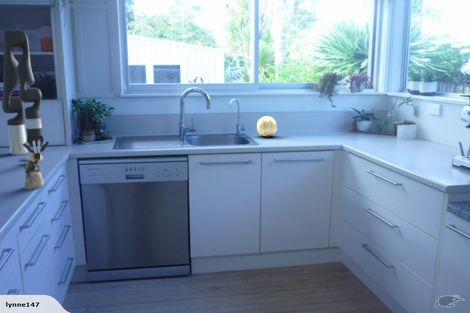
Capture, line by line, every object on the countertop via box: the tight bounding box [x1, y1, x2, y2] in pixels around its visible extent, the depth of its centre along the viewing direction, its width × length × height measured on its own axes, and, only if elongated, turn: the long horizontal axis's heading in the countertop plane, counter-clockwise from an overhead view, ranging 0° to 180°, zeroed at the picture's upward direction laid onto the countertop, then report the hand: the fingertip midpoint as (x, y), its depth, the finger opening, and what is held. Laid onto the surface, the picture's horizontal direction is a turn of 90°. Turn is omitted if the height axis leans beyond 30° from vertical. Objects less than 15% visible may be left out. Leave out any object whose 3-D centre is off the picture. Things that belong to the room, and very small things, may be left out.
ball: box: [29, 153, 43, 163], centre depth 226 cm, size 6×6×6 cm
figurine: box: [23, 159, 44, 190], centre depth 178 cm, size 7×7×12 cm
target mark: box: [19, 156, 45, 163], centre depth 235 cm, size 12×12×1 cm
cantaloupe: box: [256, 115, 278, 138], centre depth 308 cm, size 15×15×15 cm
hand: (37, 159), depth 223 cm, fingers closed
